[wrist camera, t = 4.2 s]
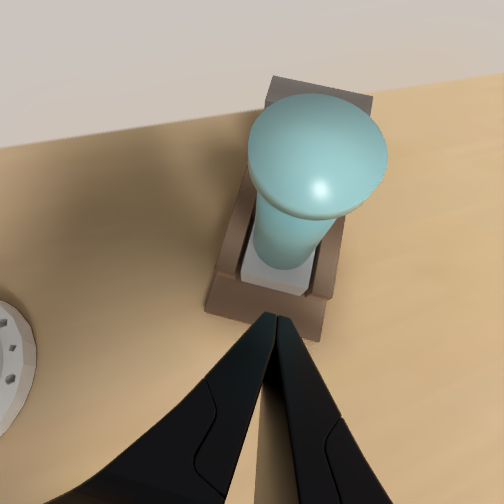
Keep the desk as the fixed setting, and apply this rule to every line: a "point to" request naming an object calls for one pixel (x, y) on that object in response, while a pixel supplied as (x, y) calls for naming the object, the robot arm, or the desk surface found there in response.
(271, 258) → the knob
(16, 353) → the mechanical component
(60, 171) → the desk surface
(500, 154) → the desk surface
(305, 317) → the mount
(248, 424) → the robot arm
